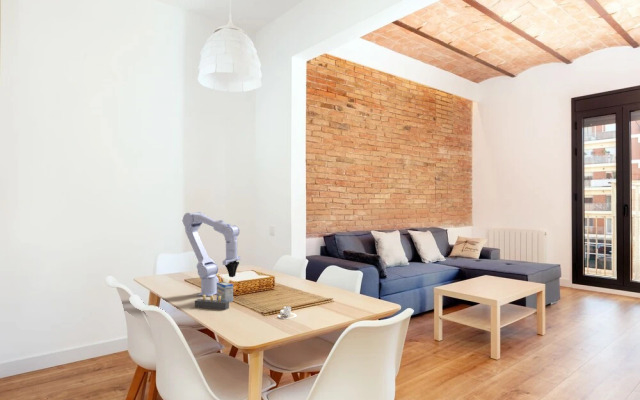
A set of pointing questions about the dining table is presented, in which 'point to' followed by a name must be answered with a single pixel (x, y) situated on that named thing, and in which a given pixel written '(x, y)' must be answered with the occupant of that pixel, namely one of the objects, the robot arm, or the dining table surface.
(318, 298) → the dining table surface
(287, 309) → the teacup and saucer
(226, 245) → the robot arm
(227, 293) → the medicine box
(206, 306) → the pin header
